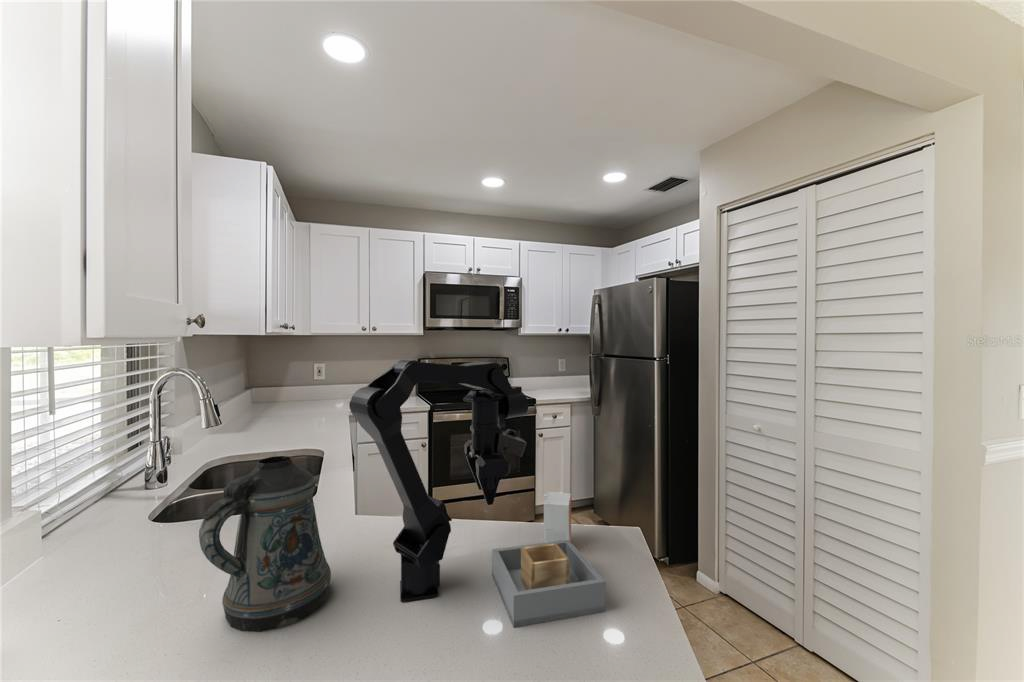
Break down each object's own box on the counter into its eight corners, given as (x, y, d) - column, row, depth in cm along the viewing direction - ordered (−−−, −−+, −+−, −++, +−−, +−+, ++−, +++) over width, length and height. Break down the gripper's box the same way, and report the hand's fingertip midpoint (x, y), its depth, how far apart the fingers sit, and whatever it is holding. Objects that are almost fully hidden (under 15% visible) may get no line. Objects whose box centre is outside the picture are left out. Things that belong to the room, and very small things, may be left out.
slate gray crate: (513, 627, 68) (513, 595, 68) (491, 575, 84) (491, 549, 84) (605, 611, 72) (605, 581, 72) (568, 564, 88) (568, 539, 88)
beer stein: (345, 577, 83) (346, 447, 83) (291, 648, 63) (292, 478, 64) (261, 576, 83) (261, 446, 84) (181, 646, 64) (182, 477, 64)
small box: (569, 555, 92) (569, 505, 92) (543, 552, 93) (543, 503, 93) (571, 538, 100) (571, 493, 100) (547, 536, 101) (547, 491, 101)
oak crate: (531, 599, 74) (531, 564, 74) (520, 579, 80) (520, 547, 80) (569, 593, 76) (569, 559, 76) (556, 574, 82) (556, 543, 82)
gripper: (536, 428, 83) (536, 509, 83) (511, 413, 101) (511, 480, 101) (479, 431, 80) (479, 515, 80) (464, 415, 98) (463, 483, 98)
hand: (485, 496), depth 90 cm, fingers open, 9 cm apart
